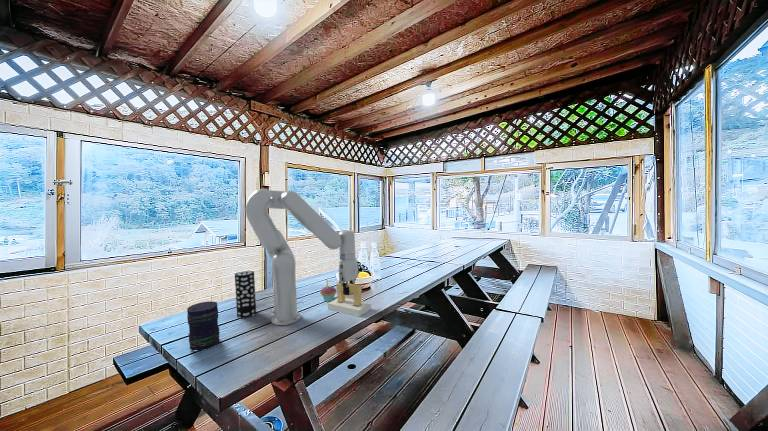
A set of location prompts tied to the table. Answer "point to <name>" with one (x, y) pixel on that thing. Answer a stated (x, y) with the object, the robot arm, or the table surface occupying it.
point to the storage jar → (203, 325)
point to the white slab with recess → (349, 307)
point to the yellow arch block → (353, 289)
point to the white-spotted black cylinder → (245, 294)
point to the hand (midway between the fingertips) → (348, 293)
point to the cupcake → (328, 292)
